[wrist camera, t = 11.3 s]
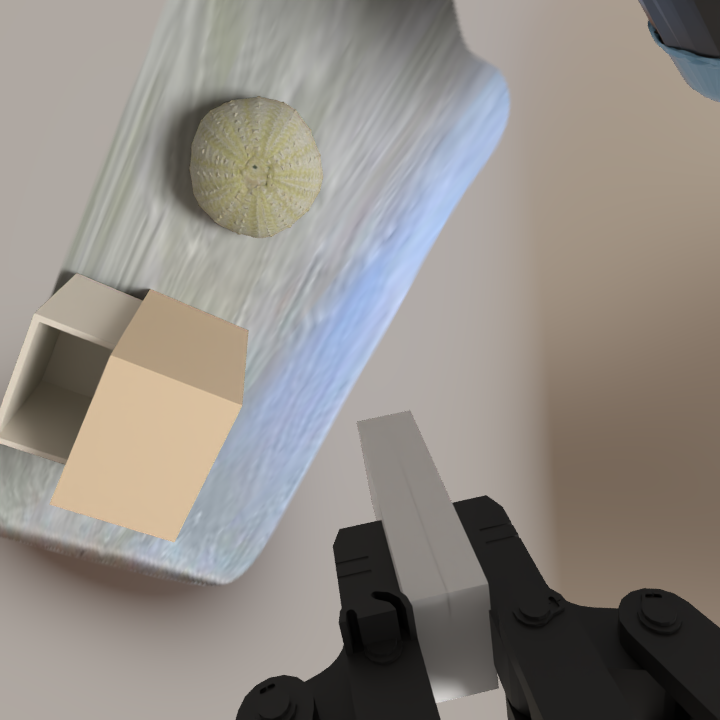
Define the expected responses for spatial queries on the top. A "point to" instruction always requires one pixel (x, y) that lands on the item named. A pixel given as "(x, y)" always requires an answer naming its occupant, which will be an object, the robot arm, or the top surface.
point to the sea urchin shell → (255, 166)
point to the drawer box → (62, 366)
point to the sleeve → (156, 419)
